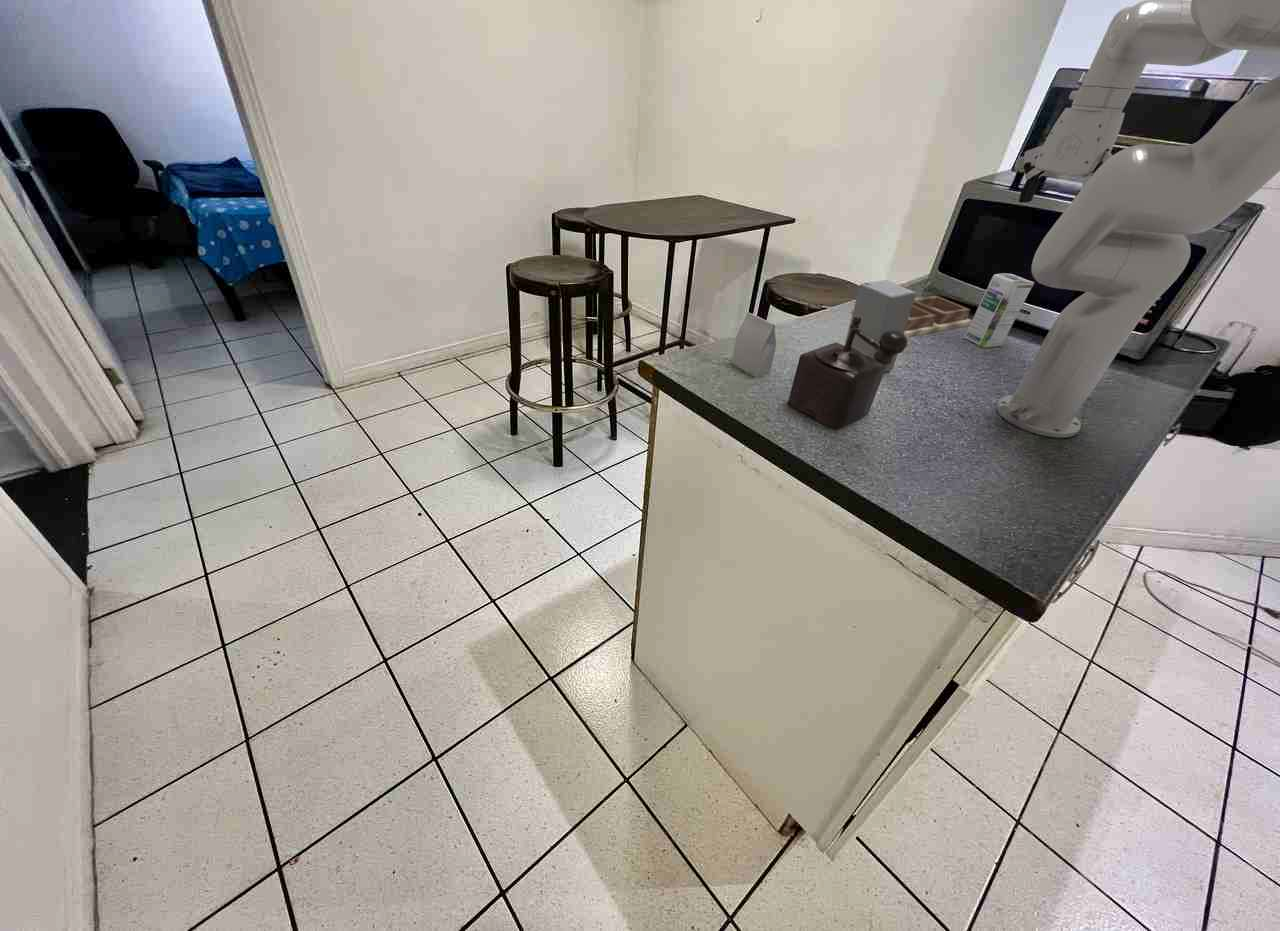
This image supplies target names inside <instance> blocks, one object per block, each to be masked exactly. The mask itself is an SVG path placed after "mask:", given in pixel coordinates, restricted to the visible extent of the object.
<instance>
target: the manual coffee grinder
mask: <svg viewBox="0 0 1280 931" xmlns="http://www.w3.org/2000/svg"><path fill="white" fill-rule="evenodd" d="M860 322H861V317H859V316H855V317H854V318H853V324H851V325H850V324H849V326H850V327H849V326H848V330H849V329H850V333H849V336H848V339H847V342H846V341H845V342H846V344H845V343H844V344H841V343H839V342H837V341H836V342H833V343H831V344H830V343H829V344H827V345H824V346H821V347H818V348H815V349H813V350H809V351H806V352H805V353H802V354H800V356H799V358H798V363H797V367H796V370H795V374H794V378H793V382H792V385H791V388H790V393H789V397H788V401H787V403H786V404H787V405H788V406H790V407H791V408H793V409H794V410H797V411H798V412H799V413H801V414H802V415H805V416H806V417H808V418H809V419H811V420H815V421H816V422H819V423H821V424H823V425H824V426H826V427H830V428H832V429H834V430H839V429H841V428H844V427H847V426H849V425H851V424H853V423H856V422H857V421H859V420H862V419H863V418H864V417H865V416H867V415H868V414H869V412H870V411H871V408H872V405H873V402H874V400H875V396H876V394H877V392H878V389H879V387H880V384H881V381H882V380H883V376H884V374H885V373H886V372H885V369H886V367H887V364H891V362H892V358H893V356H894V355H896V354H897V355H898V354H901V353H903V352H904V351H905V349H906V348H907V347H908V337H905V336H904V335H903V333H901V332H900V331H897V330H889V331H886V332H884V333H883V334H882V335H881V337H880V340H879V343H878V342H876V341H875V340H874V339H872V338H871V337H869V336H868V335H866V334H865V333H864V332H862V331H861V330H860V329H859V327H860V326H859V324H860ZM855 334H857V335H858V336H859V337H860V338H861V339H863V340H864V341H865V342H867V343H868V344H870V345H871V346H873V347H874V348H875V349H877V350H878V351H876V352H875V353H874V356H873V357H874V358H875V359H873V358H871V357H869V356H866V355H864V354H862V353H861V352H859V351H858V350H856V349H854V348H852V343H853V340H854V337H855Z"/></svg>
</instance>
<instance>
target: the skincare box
mask: <svg viewBox="0 0 1280 931" xmlns="http://www.w3.org/2000/svg"><path fill="white" fill-rule="evenodd" d="M917 294H918V293H917V292H916V291H914V290H911V289H909V288H906V287H903V286H901V285H900V284H896V283H894V282H891V281H889V280H886V279H885V280H884V279H883V280H877V281H868V282H862V283H859V287H858V292H857V295H856V299H855V303H854V307H853V308H854V310H853V313H851V314H852V315H851V319H850V322H849V326H848V331H847V334H846V339H845V342H844V345H845V344H846V342H847V339H848V336H849V333H850V329H849V327H850V325H851V324H853V318H854V317H855V316H859V317H861V322H860V324H859V326H860V327H859V329H860V330H861V331H862V332H864V333H865V334H866V335H868V336H869V337H871V338H872V339H874V340H875V341H876V342H878V343H879V340H880V337H881V335H882V334H883V333H884V332H886V331H889V330H897V331H900V332H901V333H903V335H904V332H905V328H906V325H907V322H908V319H909V316H910V313H911V309H912V306H913V303H914V300H915V299H916V298H917ZM852 348H854V349H856V350H858V351H859V352H861V353H862V354H864V355H866V356H869V357H871V358H873V359H875V358H874V357H873V356H874V353H875V352H876V351H878V350H877V349H875V348H874V347H873V346H871V345H870V344H868V343H867V342H865V341H864V340H863V339H861V338H860V337H859V336H858V335H857V334H855V337H854V340H853V343H852ZM897 357H898V354H896V355H894V356H893V358H892V362H891V364H887V367H886V369H885V372H884V373H887V372H891V371H892V370H893V369H894V366H895V362H896V360H897Z"/></svg>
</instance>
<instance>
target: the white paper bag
mask: <svg viewBox="0 0 1280 931" xmlns="http://www.w3.org/2000/svg"><path fill="white" fill-rule="evenodd" d="M776 346H777V340H776V324H775V323H772V322H770V321H769V320H766V319H764V318H762V317H760V316H758V315H756V314H753V313H751V312H749V311H748V312H746V314H745V317H744V320H743V322H742V324H741V325H740V327H739V329H738V331H737V333H736V337H735V342H734V346H733V347H734V348H733V351H732V353H733V354H732V359H731V364H732V365H734V366H736V367H737V368H738V369H740V370H743V371H744V372H745V373H747V374H749V375H751V376H753V377H754V378H760V377H763V376H766V375H768V374H770V373H771V369H772V363H773V361H774V360H773V359H774V356H775V353H776V348H777V347H776Z"/></svg>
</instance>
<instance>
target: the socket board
mask: <svg viewBox="0 0 1280 931" xmlns="http://www.w3.org/2000/svg"><path fill="white" fill-rule="evenodd" d="M853 310H854V307H853V308H851V310H850V314H853ZM970 312H971V309H970V308H968V307H965V306H964V305H961V304H958V303H956V302H953V301H950V300H949V299H946V298H943V297H941V296H938V295H931V296H930V295H929V296H924V297H915V300H914V303H913V306H912V309H911V313H910V316H909V319H908V322H907V325H906V328H905V332H904V336H905V337H906V338H909V337H914V336H920V335H925V334H929V333H935V332H940V331H947V330H951V329H957V328H961V327H965V326H967V327H968V326H970V324H971V322H972V320H973V319H970V318H968V316H969V315H970Z"/></svg>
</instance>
